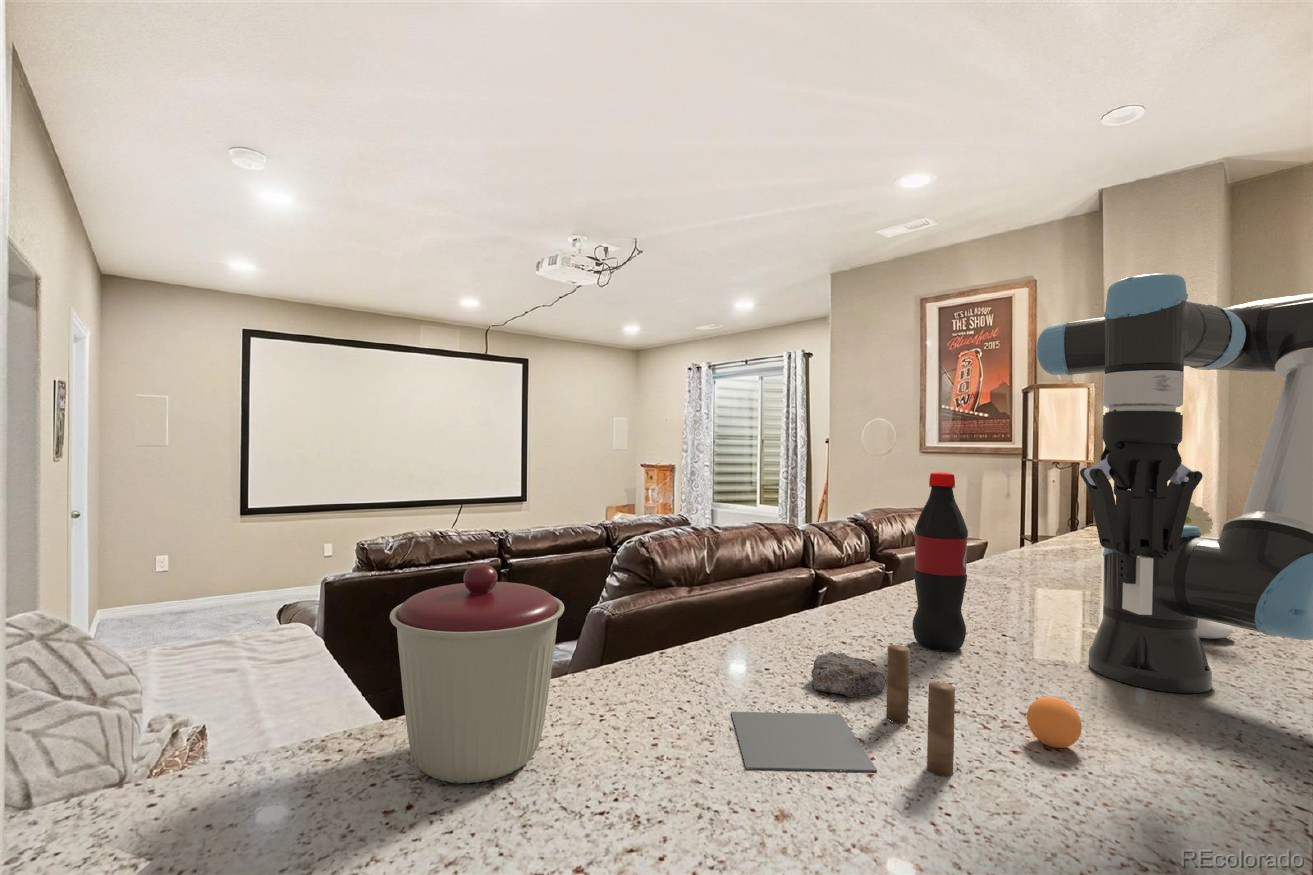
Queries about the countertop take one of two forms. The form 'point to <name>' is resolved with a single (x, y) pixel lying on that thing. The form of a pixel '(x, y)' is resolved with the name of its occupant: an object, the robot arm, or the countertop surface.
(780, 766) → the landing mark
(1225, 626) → the flower in vase
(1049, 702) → the ball
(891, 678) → the post
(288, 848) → the countertop surface
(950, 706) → the post
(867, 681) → the rock
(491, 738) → the canister
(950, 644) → the cola bottle
